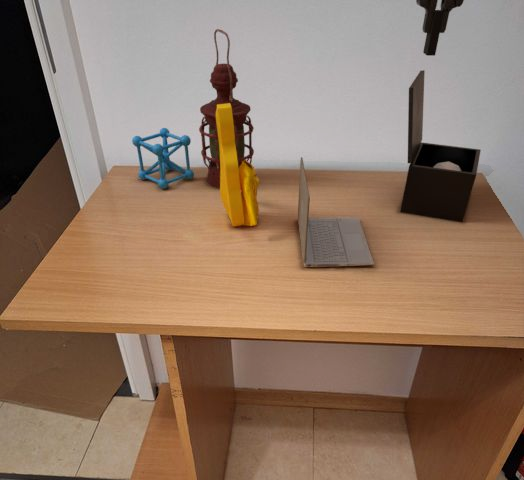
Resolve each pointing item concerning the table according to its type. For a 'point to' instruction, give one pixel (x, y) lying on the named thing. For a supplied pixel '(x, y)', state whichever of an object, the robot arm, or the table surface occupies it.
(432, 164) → the box
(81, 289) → the table surface
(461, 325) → the table surface
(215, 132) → the lantern
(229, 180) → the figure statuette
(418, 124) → the dark brown box lid
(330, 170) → the table surface
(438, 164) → the geometric ball
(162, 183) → the molecular structure
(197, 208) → the table surface
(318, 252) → the laptop
